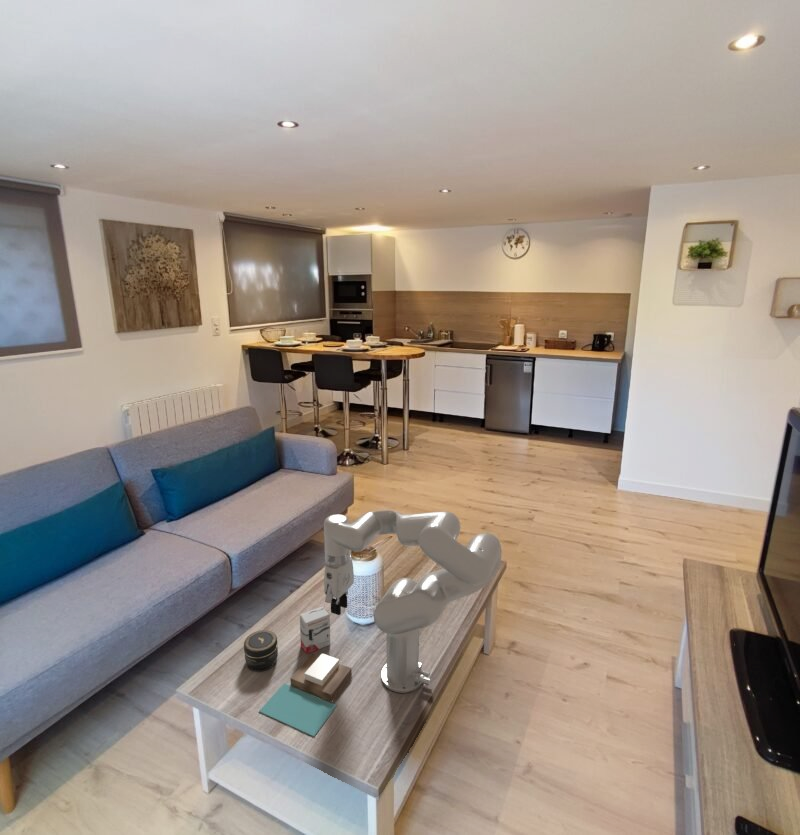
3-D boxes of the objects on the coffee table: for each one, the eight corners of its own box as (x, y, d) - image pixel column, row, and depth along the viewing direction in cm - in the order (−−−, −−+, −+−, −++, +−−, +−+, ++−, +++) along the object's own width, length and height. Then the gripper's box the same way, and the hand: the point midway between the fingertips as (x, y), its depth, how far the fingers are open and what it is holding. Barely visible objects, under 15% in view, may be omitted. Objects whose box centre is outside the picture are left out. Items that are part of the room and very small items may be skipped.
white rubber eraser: (339, 665, 148) (338, 659, 147) (322, 686, 140) (322, 680, 139) (322, 658, 150) (322, 653, 150) (304, 679, 142) (304, 673, 142)
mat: (336, 706, 136) (336, 705, 136) (314, 736, 127) (313, 736, 127) (284, 684, 143) (284, 683, 143) (259, 711, 134) (259, 710, 134)
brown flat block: (351, 675, 147) (351, 668, 146) (331, 702, 137) (331, 694, 137) (312, 660, 153) (312, 653, 152) (290, 685, 143) (290, 678, 142)
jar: (261, 645, 159) (260, 625, 157) (285, 656, 154) (284, 635, 152) (238, 665, 150) (236, 644, 148) (262, 677, 146) (261, 656, 144)
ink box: (306, 655, 155) (305, 622, 152) (300, 645, 159) (298, 614, 156) (331, 644, 160) (330, 613, 157) (324, 636, 164) (323, 605, 161)
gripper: (333, 573, 137) (335, 629, 141) (362, 546, 151) (363, 598, 156) (311, 566, 140) (313, 622, 144) (341, 540, 154) (342, 592, 159)
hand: (339, 609), depth 150 cm, fingers open, 3 cm apart
